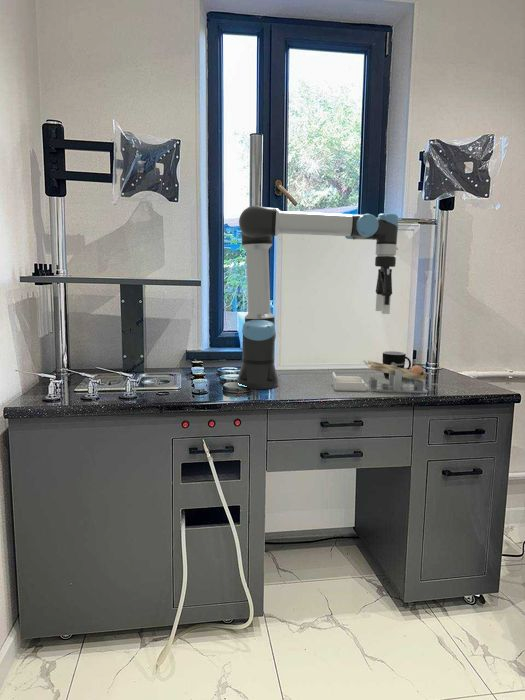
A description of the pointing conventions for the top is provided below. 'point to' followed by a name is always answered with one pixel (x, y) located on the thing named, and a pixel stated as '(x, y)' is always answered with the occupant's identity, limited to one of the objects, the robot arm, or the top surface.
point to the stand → (396, 384)
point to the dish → (348, 383)
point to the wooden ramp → (392, 369)
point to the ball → (416, 370)
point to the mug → (395, 360)
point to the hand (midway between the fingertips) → (382, 312)
